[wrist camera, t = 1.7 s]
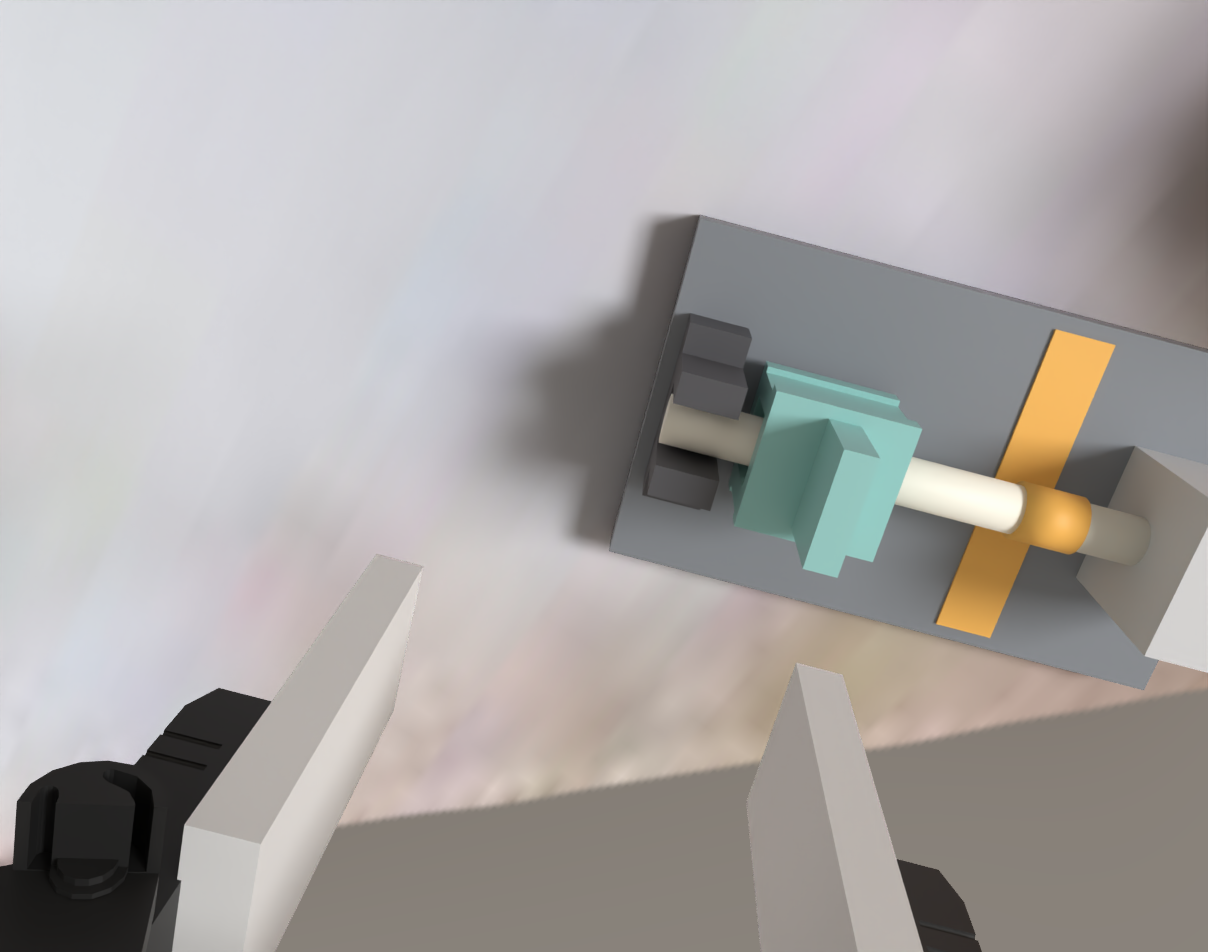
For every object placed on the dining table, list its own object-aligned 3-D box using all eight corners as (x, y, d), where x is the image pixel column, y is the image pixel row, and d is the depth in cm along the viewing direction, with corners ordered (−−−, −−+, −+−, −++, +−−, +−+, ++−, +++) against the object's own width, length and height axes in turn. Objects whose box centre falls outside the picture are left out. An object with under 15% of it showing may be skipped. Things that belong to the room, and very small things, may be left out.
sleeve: (766, 360, 33) (786, 418, 27) (895, 394, 34) (947, 460, 27) (728, 482, 35) (738, 566, 28) (851, 515, 35) (891, 606, 28)
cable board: (699, 214, 34) (703, 236, 27) (1273, 366, 34) (1417, 425, 28) (611, 535, 38) (596, 622, 31) (1126, 669, 38) (1221, 784, 32)
